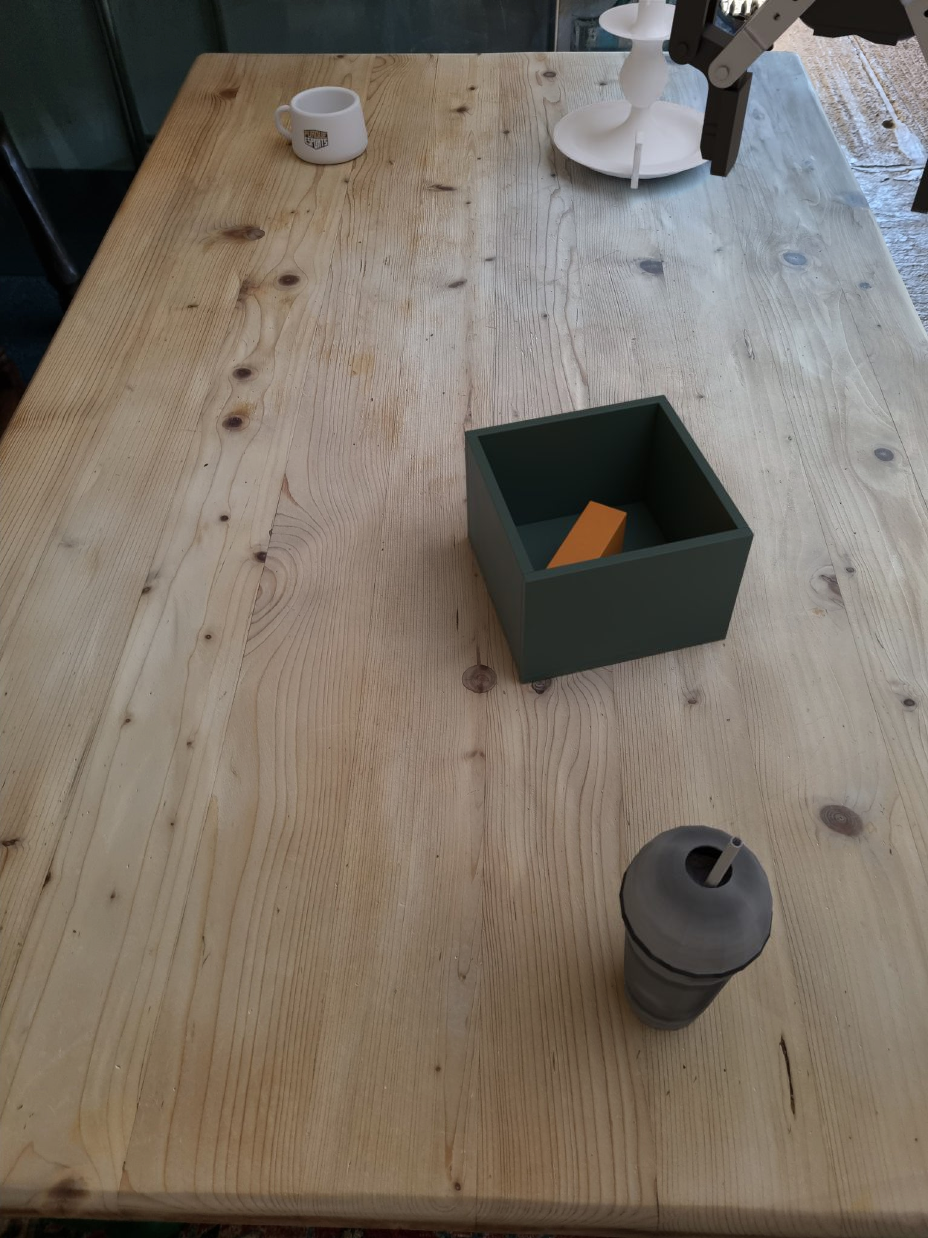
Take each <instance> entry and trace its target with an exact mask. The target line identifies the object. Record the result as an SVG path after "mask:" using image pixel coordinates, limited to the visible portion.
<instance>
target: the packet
mask: <svg viewBox="0 0 928 1238" xmlns="http://www.w3.org/2000/svg"><path fill="white" fill-rule="evenodd" d="M626 517H627V513H626V512H623V511H620V510H617V509H614V508H611V507H608V506H605V505H602V504H599V503H596V502H593V501H590V502H589V504H588V505H587V507H586V508H585V510H584V511H583V513H582V514H581V516H580V517H579V519H578V520H577V522H576V523H575V525H574V526H573V528H572V530H571V531H570V533H569V534H568V536H567V537H566V539H565V540H564V542H563V543H562V545H561V546H560V548H559V549H558V551H557V552H556V554H555V556H554V557H553V559H552V560H551V562H550V563H549V565H548V566H547V568H546V569H548V568H553V567H558V566H562V565H567V564H572V563H577V562H582V561H587V560H591V559H596V558H601V557H606V556H611V555H615V554H620V553H622V546H623V539H624V531H625V524H626Z"/></svg>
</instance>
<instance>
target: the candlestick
mask: <svg viewBox="0 0 928 1238" xmlns="http://www.w3.org/2000/svg"><path fill="white" fill-rule="evenodd" d="M675 5H676V4H671V3H667V0H638V2H634V3H633V2H632V3H626V4H621V5H617V6H613V7H611V8H609V9H607V10H606V11H604V12H602V14H600V16H599V18H598V24H599V26H600V27H601V28H602V30H603V31H606V32H608V33H609V34H611V35H614V36H617V37H620V38H624V39H627V40H628V39H629V40H631V43H632V44H631V45H632V46H631V49H630V51H629V53H628V55H627V56H626V58H625V59H624V61H623V64H621V67H620V71H619V75H618V76H619V78H618V79H619V85H620V86H619V87H620V89H621V92H622V94H623V96H624V98H618V99H610V100H609V99H608V100H603V101H602V100H601V101H597V102H593V103H590V104H589V103H588V104H586V105H583V106H580V107H578V108H576V109H573V110H571V111H570V112H568V113H566V114H565V115H564V116H563V117H561V118H560V119H559V120H558V121H557V123H556V124H555V126H554V128H553V131H552V139H553V142H554V144H555V146H556V147H557V148H558V150H559V151H560V152H561V153H562V154H563V155H565V156H566V157H567V158H569V159H571V160H572V161H575V162H576V163H579V164H581V165H583V166H584V167H586V168H587V167H588V168H589V169H591V170H592V171H596V172H597V173H601V174H603V175H606V176H612V177H617V178H620V179H630V189H638V187H639V186H638V185H639V180H641V179H643V180H649V179H656V178H664V177H668V176H673V175H675V174H679V173H681V172H684V171H687V170H690V169H693V168H697V167H699V166H701V165H703V164H705V163H707V162H709V161H710V160H704V159H702V155H701V151H700V141H701V135H702V128H703V123H704V122H703V121H704V115H705V112H702V111H700V110H698V109H696V108H693V107H690V106H688V105H685V104H681V103H677V102H671V101H666V100H661V99H660V98H661V96H662V95H663V93H664V92H665V90H666V88H667V86H668V83H669V79H670V69H669V64H668V62H667V59H666V57H665V54H664V50H663V44H664V42H665V41H669V40H670V34H671V28H672V23H673V17H674V11H675Z"/></svg>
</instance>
